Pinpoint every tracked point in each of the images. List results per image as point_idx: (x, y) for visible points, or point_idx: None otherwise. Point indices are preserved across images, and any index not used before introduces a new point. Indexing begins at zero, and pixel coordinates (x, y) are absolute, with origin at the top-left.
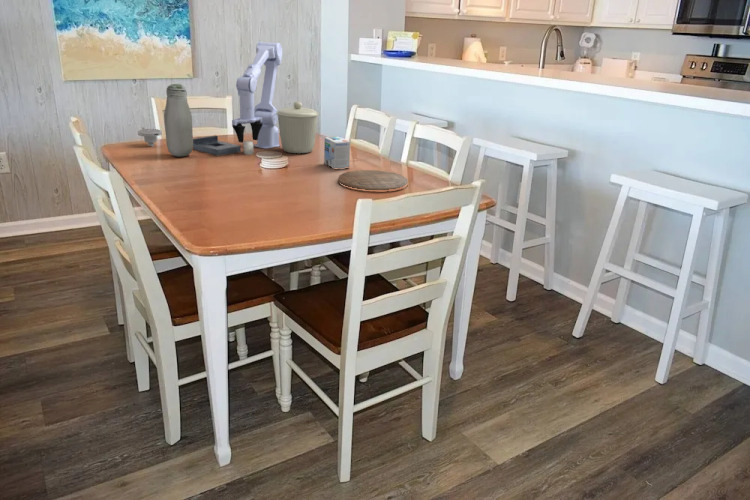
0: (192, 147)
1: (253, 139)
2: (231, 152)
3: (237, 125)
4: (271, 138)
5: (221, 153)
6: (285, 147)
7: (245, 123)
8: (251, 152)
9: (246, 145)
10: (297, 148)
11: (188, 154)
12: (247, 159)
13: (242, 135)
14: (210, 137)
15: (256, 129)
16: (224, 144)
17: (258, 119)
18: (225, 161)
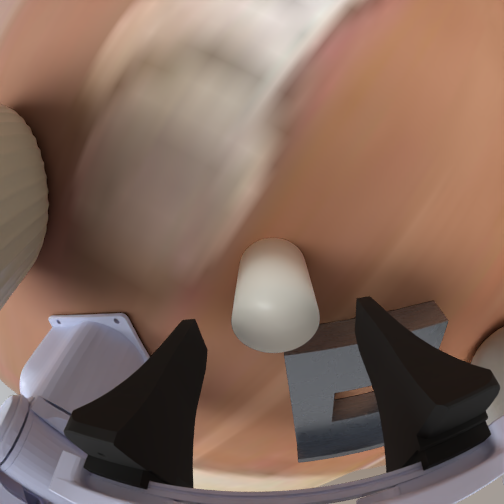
0: (501, 348)
1: (205, 346)
2: (351, 322)
3: (482, 423)
4: (65, 350)
5: (417, 311)
6: (35, 176)
7: (333, 487)
8: (271, 244)
9: (310, 288)
10: (4, 109)
11: (493, 333)
12: (380, 130)
13: (400, 332)
14: (334, 451)
15: (162, 402)
16: (331, 400)
17: (99, 498)
18: (484, 177)
